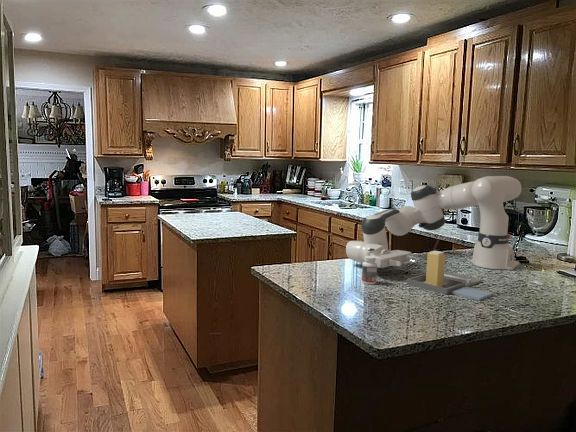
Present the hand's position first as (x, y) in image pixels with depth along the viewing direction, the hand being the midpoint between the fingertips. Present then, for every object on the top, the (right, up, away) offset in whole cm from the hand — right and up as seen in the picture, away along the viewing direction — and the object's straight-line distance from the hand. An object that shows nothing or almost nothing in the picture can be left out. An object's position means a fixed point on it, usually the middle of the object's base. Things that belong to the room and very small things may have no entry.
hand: (408, 262), depth 181 cm
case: (+13, -7, -3) cm, 15 cm away
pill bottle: (-16, -7, -5) cm, 18 cm away
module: (+8, -8, -7) cm, 13 cm away
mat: (+18, -9, -17) cm, 26 cm away
